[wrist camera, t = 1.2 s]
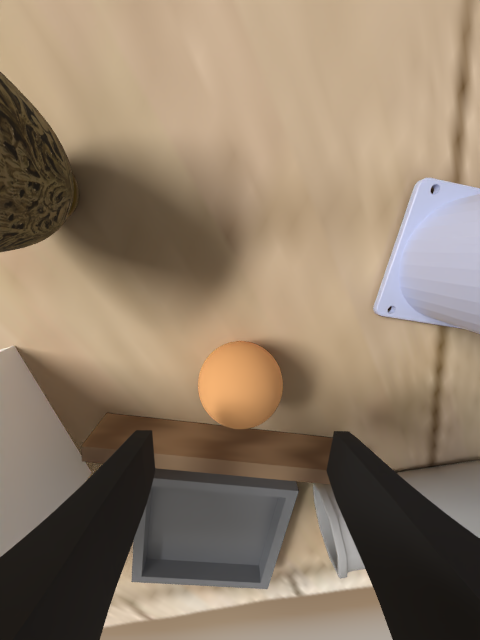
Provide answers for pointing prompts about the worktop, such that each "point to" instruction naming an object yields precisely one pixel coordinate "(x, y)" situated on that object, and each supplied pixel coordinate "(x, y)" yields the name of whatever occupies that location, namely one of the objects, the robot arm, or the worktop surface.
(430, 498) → the tube
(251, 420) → the egg
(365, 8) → the worktop surface
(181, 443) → the fence
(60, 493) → the milk
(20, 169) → the cup
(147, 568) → the tray
